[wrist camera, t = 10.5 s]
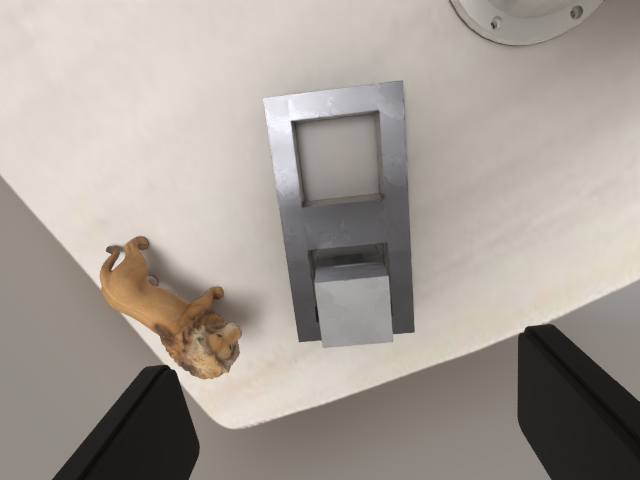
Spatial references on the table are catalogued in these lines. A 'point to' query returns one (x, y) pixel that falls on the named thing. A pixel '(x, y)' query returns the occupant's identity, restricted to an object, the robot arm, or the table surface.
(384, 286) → the block
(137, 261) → the lion figurine
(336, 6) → the table surface
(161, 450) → the robot arm
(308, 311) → the rail
